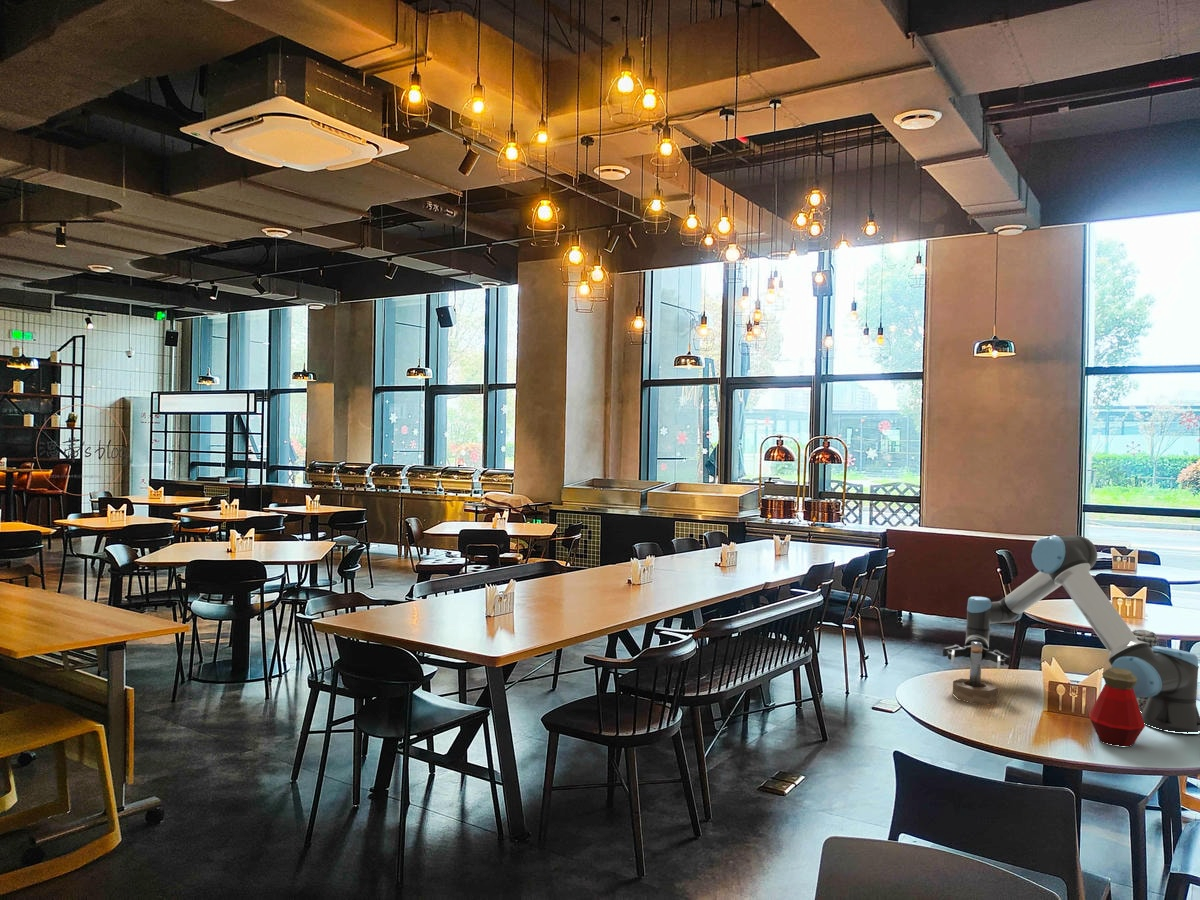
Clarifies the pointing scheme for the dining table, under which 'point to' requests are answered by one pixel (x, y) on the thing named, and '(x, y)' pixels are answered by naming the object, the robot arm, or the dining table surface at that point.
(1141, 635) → the decorative candle
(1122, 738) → the bottle
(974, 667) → the copper-banded metal rod
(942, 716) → the dining table surface
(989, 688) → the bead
